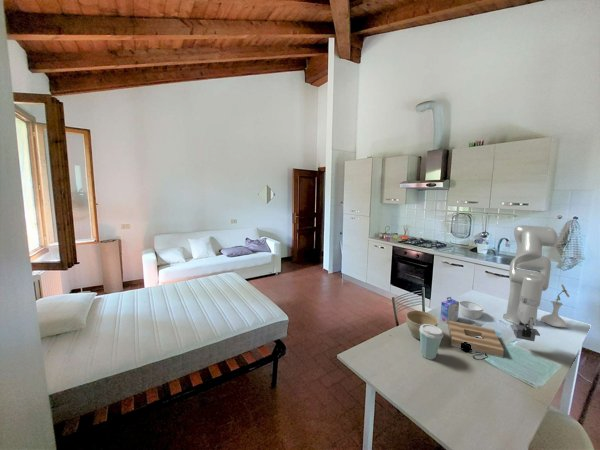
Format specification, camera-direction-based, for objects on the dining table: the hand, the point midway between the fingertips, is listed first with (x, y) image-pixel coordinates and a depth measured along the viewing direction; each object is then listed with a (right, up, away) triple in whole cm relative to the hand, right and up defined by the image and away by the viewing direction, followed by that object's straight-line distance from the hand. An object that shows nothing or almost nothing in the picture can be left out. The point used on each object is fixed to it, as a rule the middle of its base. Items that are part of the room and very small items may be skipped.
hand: (524, 333), depth 132 cm
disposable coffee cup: (-50, -10, -2) cm, 51 cm away
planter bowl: (-46, -7, +14) cm, 49 cm away
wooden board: (-20, -8, +10) cm, 23 cm away
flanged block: (0, -2, 0) cm, 2 cm away
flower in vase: (+42, -6, +27) cm, 50 cm away
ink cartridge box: (-21, -5, +31) cm, 37 cm away
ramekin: (-3, -4, +37) cm, 38 cm away
